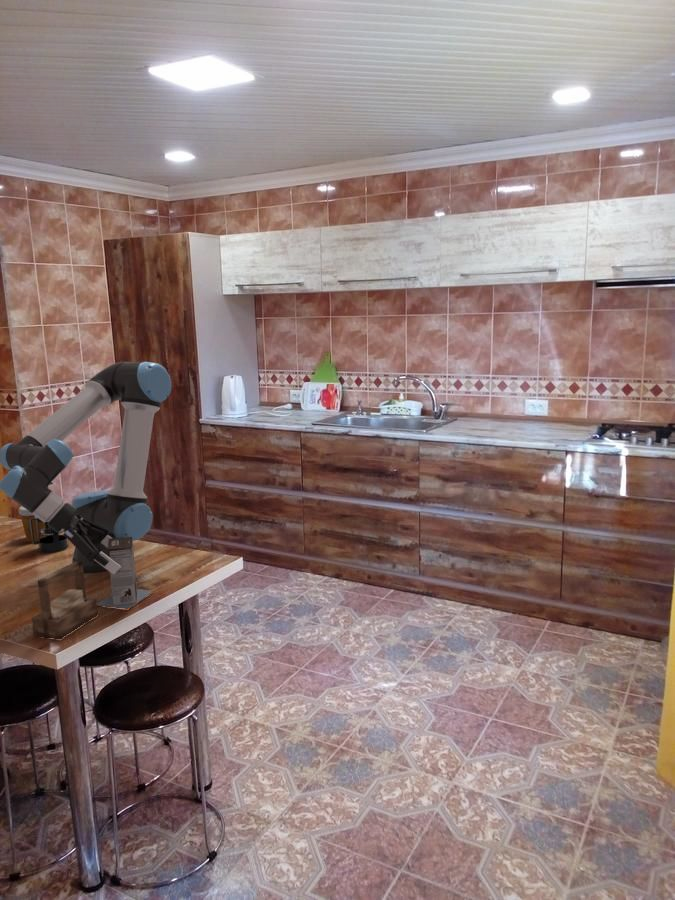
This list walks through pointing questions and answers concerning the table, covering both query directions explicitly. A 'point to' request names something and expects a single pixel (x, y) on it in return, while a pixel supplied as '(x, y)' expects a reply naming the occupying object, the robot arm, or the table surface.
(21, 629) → the table surface
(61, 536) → the french press
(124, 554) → the coffee box
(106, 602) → the slate mat
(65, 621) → the offcut rack
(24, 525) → the disposable coffee cup
